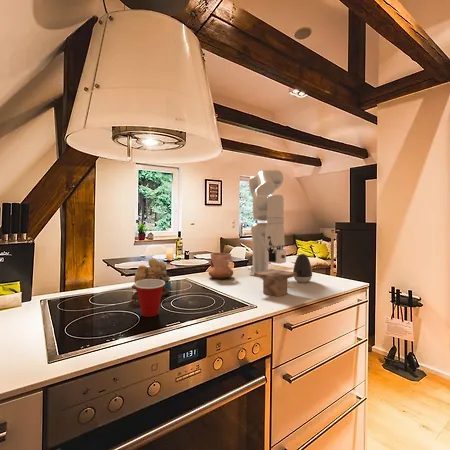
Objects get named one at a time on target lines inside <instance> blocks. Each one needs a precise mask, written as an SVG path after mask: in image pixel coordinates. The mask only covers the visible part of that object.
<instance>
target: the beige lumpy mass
mask: <svg viewBox="0 0 450 450" xmlns="http://www.w3.org/2000/svg"><path fill="white" fill-rule="evenodd" d="M148 266H149V267H147V266H145V265H143V264H142V265H139V266H138V268H137V271H136V272H135V273H134V279H133V282H134V284H132V285H131V289H133V290H136V291H135V292H134V293H133V294H132V299H134V300H136V301H139V297H138V293H137V289H136V286H135V283H136V282H137V281H140V280H144V279H159V280H163V281H165V285H166V284H168V283H169V282H170V280H171V277H170V276H168V275H167V270H166V269H167V265H166V263H165V262H164V261H162V260H161V261H159V260H158V259H156V258H150V259H149V260H148ZM165 285H164V286H163V291H162V295H161V298H164V297H167V296H168V295H170V290H169V289H168V288H166V287H165Z"/></svg>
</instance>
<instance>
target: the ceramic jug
mask: <svg viewBox="0 0 450 450" xmlns="http://www.w3.org/2000/svg"><path fill="white" fill-rule="evenodd" d="M231 258H232V253H228V252H211V253H210V261H209V264H210V269H209V270H208V275H209V277H211V278H213V279H218V280H223V279H224V280H225V279H228V278H231V277H232V276H233V275H234V270H233V269H232V268H231V267H229V264H230V262H232V261H231Z"/></svg>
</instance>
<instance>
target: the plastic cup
mask: <svg viewBox="0 0 450 450" xmlns="http://www.w3.org/2000/svg"><path fill="white" fill-rule="evenodd" d="M134 284H135V286H136V289H137V290H136V289H135V290H136V292H137V293H138V297H139V300H138V302H139V307H140V312H141V315H142V317H144V318H152V317H156V316H158V315H159V312H160V306H161V300H162V297H161V295H162V291H163V286H164V287H165V285H166V284H165V281H163V280H159V279H144V280H140V281H137V282H136V283H135V282H134Z"/></svg>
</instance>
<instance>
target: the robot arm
mask: <svg viewBox="0 0 450 450" xmlns="http://www.w3.org/2000/svg"><path fill="white" fill-rule="evenodd" d="M256 174H257V175H253V176H251V177H250V178H249V182H248V185H249V186H248V187H249V191H250V194H251V196H252V213H253V214H252V215H253V219H254V221H259V222H257V223H254V224H252V226H251V228H250V233H251V240H252V266H249V267H248V269H247V270H249V271H250V272H249V274H250V276H253V277H255V276H254V273H257V272H261V271H265V270H269V263H270V262H275V253H274V251H275V249H284V247H285V245H286V243H285V237H286V236H285V227H284V225H285V222H284V221H285V220H284V217H285V216H284V215H285V211H284V209H285V202H284V200H285V199H284V195H283V194H273V193H274V192H275V191H276V190H277V189H279V188H280V187H281V186H282V184H283V182H284V175H283V172H282V171H280V170H278V169H265V170H260V171H259V172H258V173H256ZM261 221H262V222H261ZM264 221H265V222H264ZM272 248H273V249H272ZM265 249H267V250H268V253H269V262H265Z"/></svg>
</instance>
